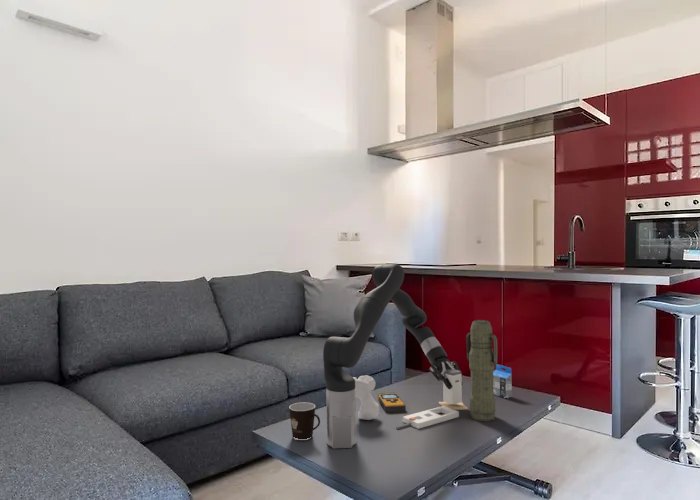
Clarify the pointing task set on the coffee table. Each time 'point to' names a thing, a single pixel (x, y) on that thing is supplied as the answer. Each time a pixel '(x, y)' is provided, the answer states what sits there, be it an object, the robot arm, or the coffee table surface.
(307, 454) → the coffee table surface
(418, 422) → the power strip
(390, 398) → the electronic device
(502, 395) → the label tape box
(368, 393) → the white irregular upright piece
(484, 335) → the thermos
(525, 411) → the coffee table surface
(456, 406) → the cork coaster
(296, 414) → the coffee mug
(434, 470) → the coffee table surface
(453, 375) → the block
